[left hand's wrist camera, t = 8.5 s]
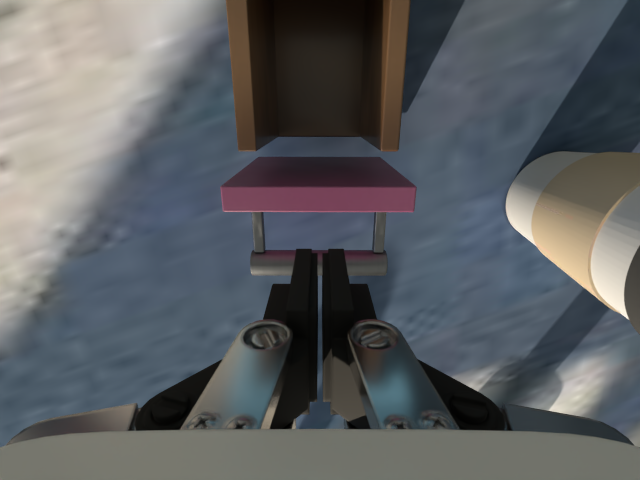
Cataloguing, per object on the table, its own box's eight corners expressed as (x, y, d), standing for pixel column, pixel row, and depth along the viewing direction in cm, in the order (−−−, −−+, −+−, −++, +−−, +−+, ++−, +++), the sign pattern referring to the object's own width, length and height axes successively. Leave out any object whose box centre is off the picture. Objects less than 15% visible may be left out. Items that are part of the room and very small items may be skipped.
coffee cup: (634, 196, 26) (994, 297, 12) (532, 271, 29) (737, 428, 15) (573, 107, 24) (928, 105, 10) (467, 197, 26) (635, 297, 12)
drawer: (374, 241, 27) (404, 312, 17) (263, 241, 27) (233, 311, 17) (399, -141, 19) (476, -389, 9) (239, -141, 19) (159, -389, 9)
